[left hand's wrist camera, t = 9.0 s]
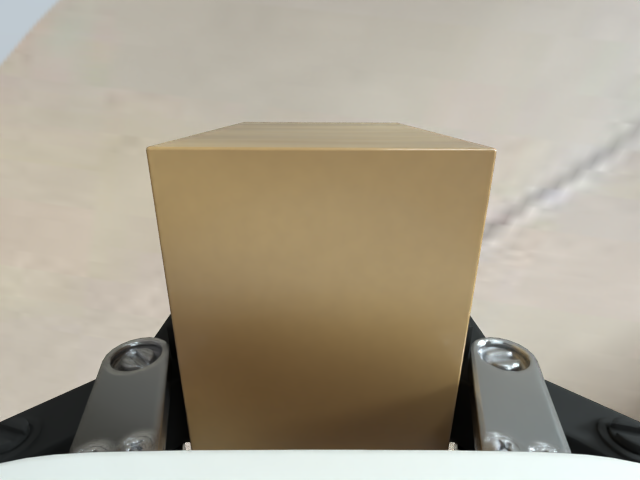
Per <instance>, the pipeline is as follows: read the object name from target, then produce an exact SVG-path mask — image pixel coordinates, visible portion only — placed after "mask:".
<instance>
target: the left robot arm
mask: <svg viewBox="0 0 640 480" xmlns="http://www.w3.org/2000/svg"><path fill="white" fill-rule="evenodd" d="M185 442H190V437H189V430H188V424H187V417H186V410H185V404H184V397H183V390H182V384H181V377H180V371H179V364H178V357H177V351H176V344H175V337H174V331H173V324H172V318H171V314H170V316H169V317H168V319H167V320H166V321H165V323H164V324H163V326H162V327H161V329H160V330H159V332H158V333H157V334H156V336H155V337H154V338H152V337H147V338H139V339H134V340H130V341H128V342H125V343H123V344H121V345H119V346H117V347H116V348H114V349H112V350H111V351H110V352H109V353H108V354H107V355H106V356H105V358H104V360H103V361H102V364H101V367H100V369H99V372H98V375H97V378H96V379H95V380H93V381H91V382H89V383H86V384H84V385H82V386H80V387H78V388H75V389H73V390H71V391H69V392H66V393H64V394H62V395H60V396H57V397H55V398H53V399H51V400H48V401H46V402H44V403H42V404H39V405H37V406H35V407H33V408H30V409H28V410H26V411H24V412H22V413H19V414H17V415H15V416H13V417H10V418H8V419H6V420H4V421H1V422H0V480H640V422H638V421H636V420H634V419H632V418H629V417H627V416H625V415H623V414H621V413H618V412H616V411H614V410H612V409H609V408H607V407H605V406H603V405H600V404H598V403H596V402H594V401H591V400H589V399H587V398H585V397H582V396H580V395H578V394H576V393H573V392H571V391H569V390H567V389H564V388H562V387H560V386H558V385H555V384H553V383H551V382H549V381H547V380H544V378H543V375H542V372H541V369H540V367H539V364H538V361H537V360H536V358H535V356H534V355H533V354H532V353H531V352H530V351H529V350H528V349H526V348H524V347H523V346H521V345H519V344H517V343H515V342H512V341H510V340H506V339H501V338H493V337H488V338H485V336H484V335H483V333H482V332H481V331H480V329H479V328H478V326H477V325H476V323H475V322H474V321H473V319H472V318H471V316H470V318H469V324H468V330H467V336H466V343H465V349H464V355H463V361H462V367H461V373H460V380H459V386H458V392H457V398H456V404H455V410H454V417H453V423H452V429H451V435H450V441H449V442H454V443H455V447H454V450H186V447H185Z"/></svg>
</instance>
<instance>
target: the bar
mask: <svg viewBox="0 0 640 480" xmlns="http://www.w3.org/2000/svg"><path fill="white" fill-rule="evenodd" d="M146 152H147V159H148V165H149V172H150V178H151V185H152V192H153V198H154V205H155V212H156V218H157V225H158V231H159V238H160V245H161V251H162V258H163V265H164V271H165V278H166V284H167V291H168V298H169V304H170V311H171V318H172V324H173V331H174V337H175V344H176V351H177V357H178V364H179V371H180V377H181V384H182V390H183V397H184V404H185V410H186V417H187V424H188V430H189V437H190V443H191V450H448V447H449V441H450V435H451V429H452V423H453V417H454V410H455V404H456V398H457V392H458V386H459V380H460V373H461V367H462V361H463V355H464V349H465V343H466V336H467V330H468V324H469V318H470V312H471V306H472V299H473V293H474V287H475V281H476V275H477V269H478V262H479V256H480V250H481V244H482V238H483V232H484V225H485V219H486V213H487V207H488V201H489V195H490V188H491V182H492V176H493V170H494V164H495V158H496V149H494V148H491V147H488V146H484V145H480V144H476V143H472V142H468V141H465V140H461V139H457V138H453V137H449V136H445V135H442V134H438V133H434V132H430V131H426V130H422V129H419V128H415V127H411V126H407V125H403V124H400V123H313V122H243V123H239V124H235V125H231V126H227V127H223V128H219V129H215V130H212V131H208V132H204V133H200V134H196V135H192V136H188V137H184V138H180V139H177V140H173V141H169V142H165V143H161V144H157V145H153V146H149V147H147V149H146Z"/></svg>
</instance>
